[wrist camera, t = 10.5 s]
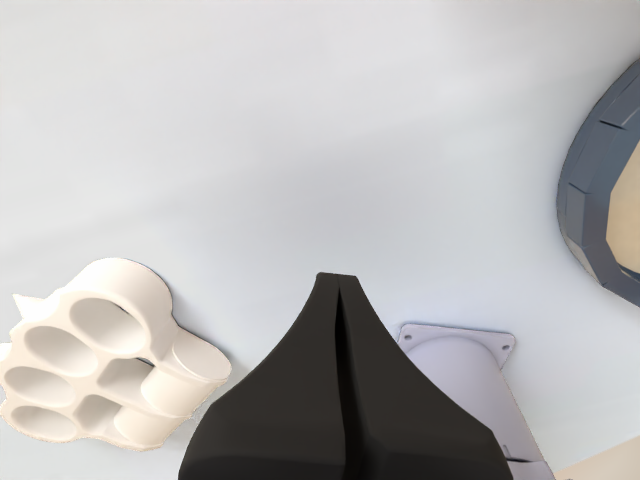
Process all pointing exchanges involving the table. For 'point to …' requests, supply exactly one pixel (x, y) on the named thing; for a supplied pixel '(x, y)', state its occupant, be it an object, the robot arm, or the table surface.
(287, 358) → the robot arm
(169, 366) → the white tube cluster
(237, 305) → the table surface
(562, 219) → the plate
